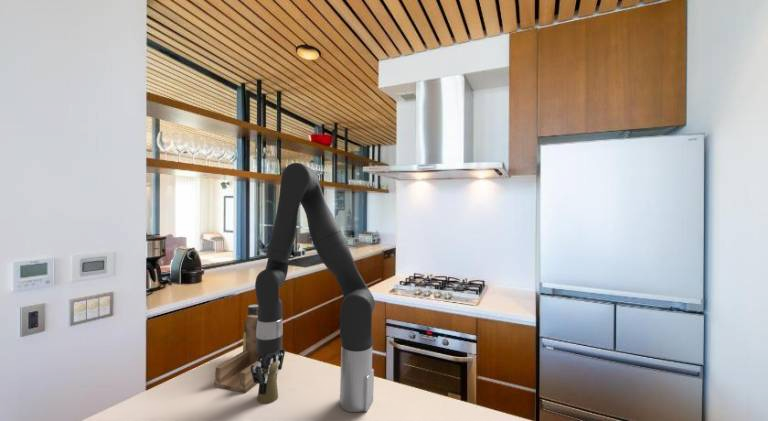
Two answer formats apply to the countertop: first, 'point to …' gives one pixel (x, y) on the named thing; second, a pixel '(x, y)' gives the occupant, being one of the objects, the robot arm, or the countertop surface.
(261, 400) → the olive rounded bulb piece
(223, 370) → the wooden stand
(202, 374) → the countertop surface
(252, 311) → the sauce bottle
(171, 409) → the countertop surface
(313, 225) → the robot arm
